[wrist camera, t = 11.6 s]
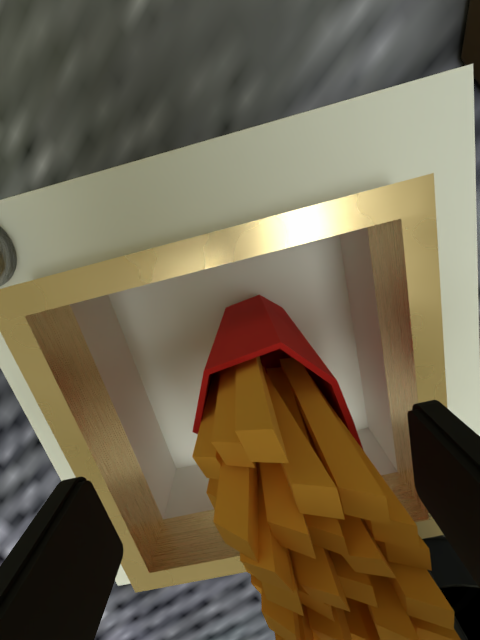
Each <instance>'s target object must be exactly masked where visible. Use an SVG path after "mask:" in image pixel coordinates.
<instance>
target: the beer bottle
mask: <svg viewBox="0 0 480 640" xmlns="http://www.w3.org/2000/svg"><path fill="white" fill-rule="evenodd" d="M461 59H462V61H463V62H464V64H465V65H470V64H473V76H474V78H475V79H476V81H477V82H478V84H479V85H480V0H470V2H469V8H468V15H467V21H466V28H465V34H464V41H463V47H462V54H461Z"/></svg>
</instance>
